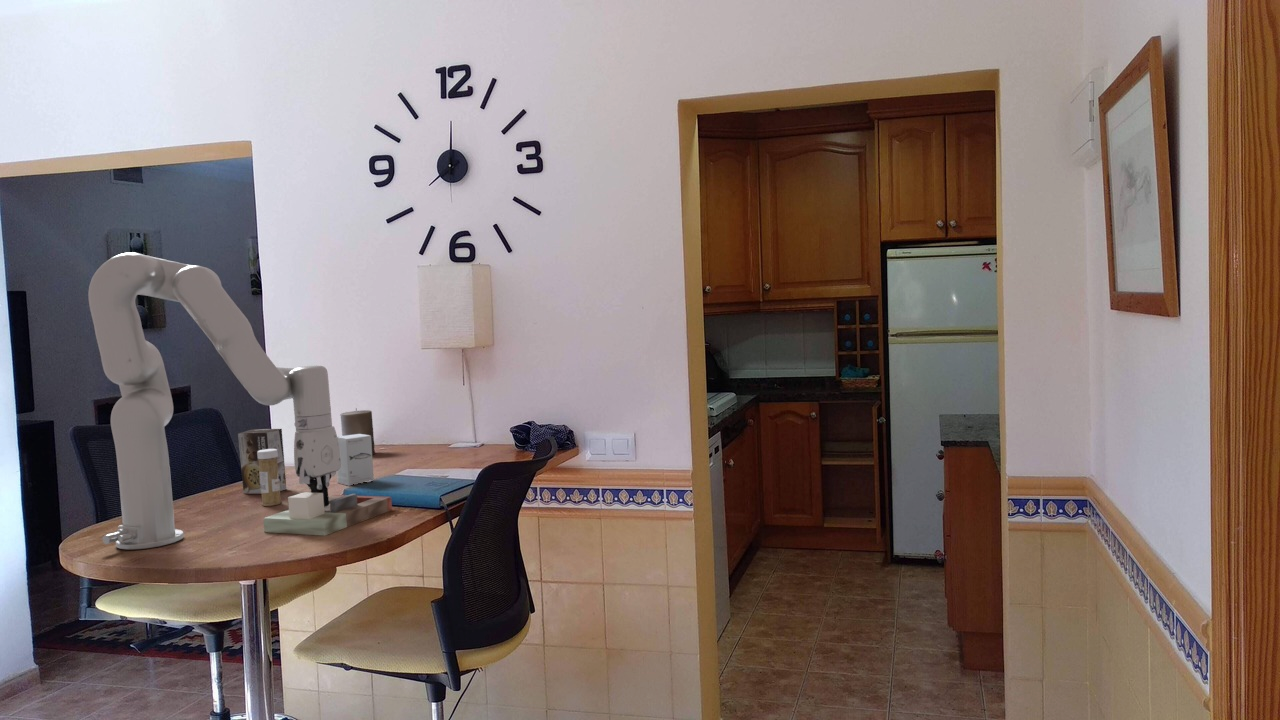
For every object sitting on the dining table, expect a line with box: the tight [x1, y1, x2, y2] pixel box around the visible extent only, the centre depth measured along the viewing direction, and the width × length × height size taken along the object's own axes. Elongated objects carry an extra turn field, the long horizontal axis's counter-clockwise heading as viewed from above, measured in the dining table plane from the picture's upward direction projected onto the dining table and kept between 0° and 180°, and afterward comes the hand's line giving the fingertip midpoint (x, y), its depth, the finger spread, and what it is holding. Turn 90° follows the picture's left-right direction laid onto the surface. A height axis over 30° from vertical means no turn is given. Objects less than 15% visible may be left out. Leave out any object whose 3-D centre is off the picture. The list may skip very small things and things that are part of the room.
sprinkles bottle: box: [257, 449, 282, 507], centre depth 229 cm, size 5×5×13 cm
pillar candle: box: [339, 407, 376, 455], centre depth 299 cm, size 10×10×15 cm
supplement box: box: [336, 434, 375, 487], centre depth 253 cm, size 7×7×13 cm
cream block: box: [287, 491, 325, 519], centre depth 201 cm, size 5×5×4 cm
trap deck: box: [262, 493, 393, 536], centre depth 209 cm, size 23×16×6 cm
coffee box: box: [237, 428, 287, 495], centre depth 246 cm, size 9×6×16 cm
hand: (320, 506), depth 206 cm, fingers closed
